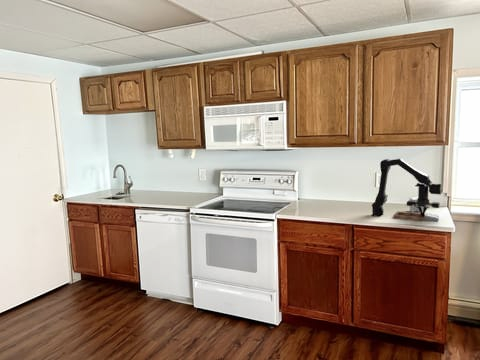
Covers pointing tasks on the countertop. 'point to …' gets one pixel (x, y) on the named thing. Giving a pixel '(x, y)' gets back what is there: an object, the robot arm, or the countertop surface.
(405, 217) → the walnut box
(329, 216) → the countertop surface
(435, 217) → the cover plate
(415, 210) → the light bulb box
